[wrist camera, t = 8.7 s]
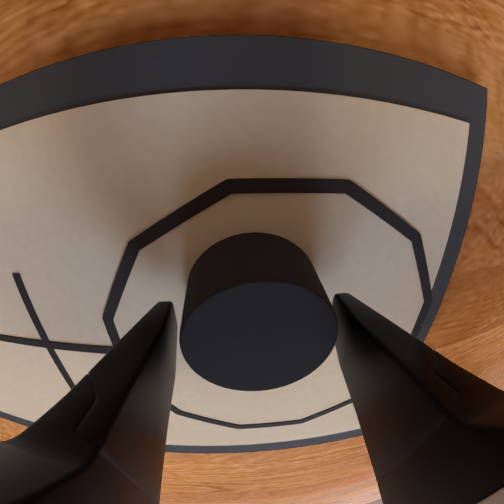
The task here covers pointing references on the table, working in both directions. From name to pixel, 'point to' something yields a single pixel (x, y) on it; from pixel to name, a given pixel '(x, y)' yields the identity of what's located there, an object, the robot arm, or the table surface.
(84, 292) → the drawing mat
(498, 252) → the table surface
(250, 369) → the black short cylinder
